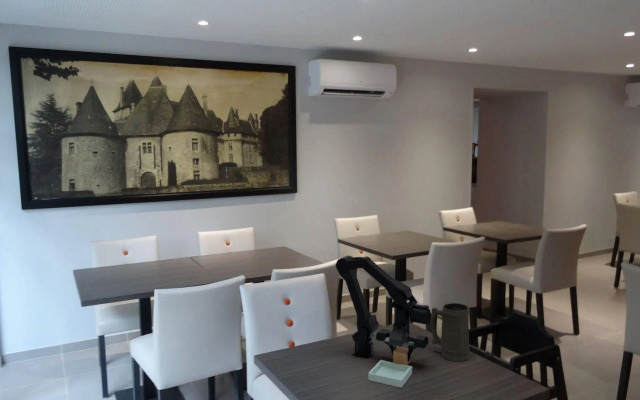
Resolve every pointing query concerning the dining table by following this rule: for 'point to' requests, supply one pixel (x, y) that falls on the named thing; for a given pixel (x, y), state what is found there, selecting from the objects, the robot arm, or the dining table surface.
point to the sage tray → (390, 373)
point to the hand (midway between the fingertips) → (401, 360)
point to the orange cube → (400, 356)
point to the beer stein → (452, 331)
